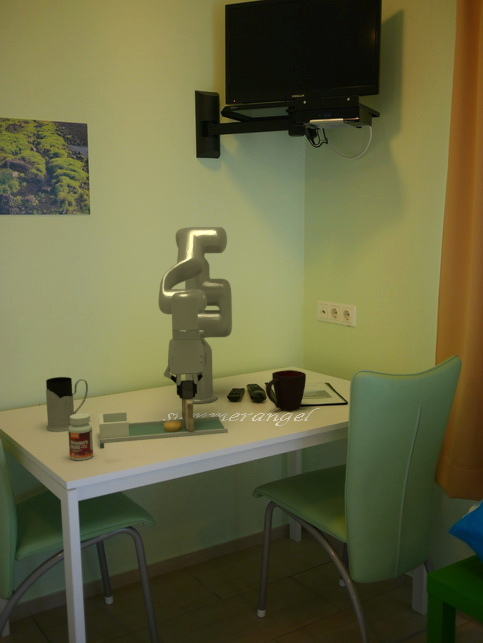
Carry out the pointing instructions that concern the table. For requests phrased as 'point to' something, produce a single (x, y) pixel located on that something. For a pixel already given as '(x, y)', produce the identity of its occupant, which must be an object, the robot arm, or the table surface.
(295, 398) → the cup
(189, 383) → the striker
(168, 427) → the yellow domed round part
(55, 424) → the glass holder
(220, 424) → the pitch
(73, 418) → the pill bottle
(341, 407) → the table surface
